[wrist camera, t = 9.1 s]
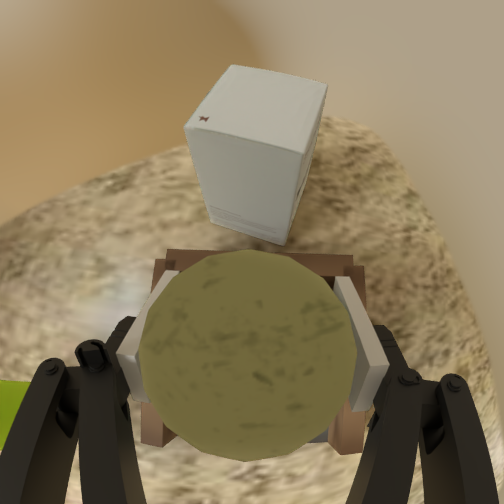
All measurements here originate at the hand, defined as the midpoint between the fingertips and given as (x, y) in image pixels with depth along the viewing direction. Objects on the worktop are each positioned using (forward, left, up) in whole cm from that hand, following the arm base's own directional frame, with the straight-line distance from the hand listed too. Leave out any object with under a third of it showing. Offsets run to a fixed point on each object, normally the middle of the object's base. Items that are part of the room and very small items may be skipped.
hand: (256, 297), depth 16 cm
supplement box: (-6, +9, -9) cm, 15 cm away
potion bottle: (+2, -3, -8) cm, 9 cm away
